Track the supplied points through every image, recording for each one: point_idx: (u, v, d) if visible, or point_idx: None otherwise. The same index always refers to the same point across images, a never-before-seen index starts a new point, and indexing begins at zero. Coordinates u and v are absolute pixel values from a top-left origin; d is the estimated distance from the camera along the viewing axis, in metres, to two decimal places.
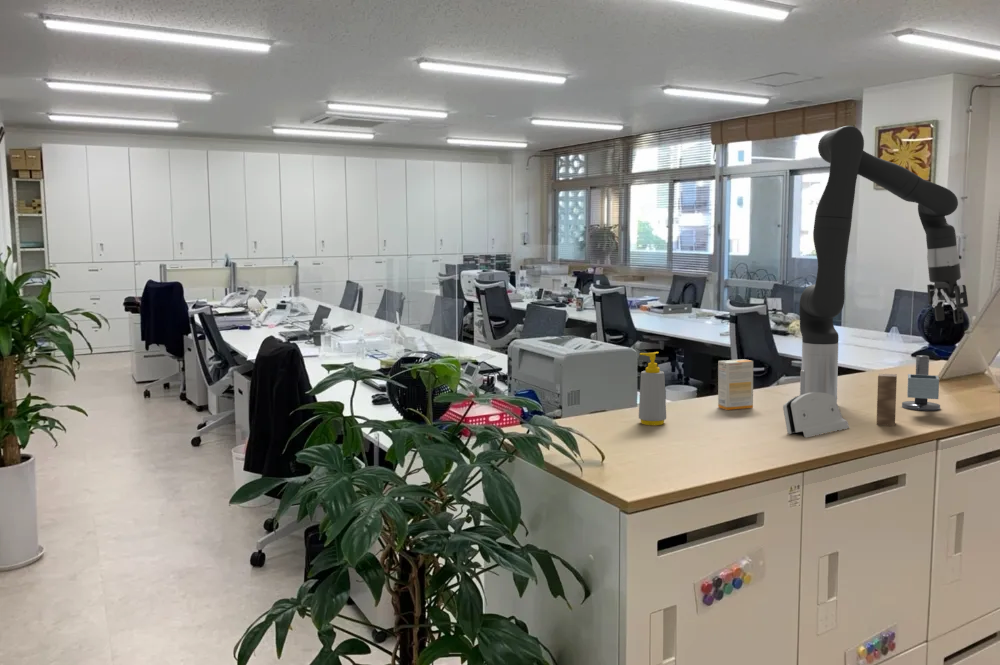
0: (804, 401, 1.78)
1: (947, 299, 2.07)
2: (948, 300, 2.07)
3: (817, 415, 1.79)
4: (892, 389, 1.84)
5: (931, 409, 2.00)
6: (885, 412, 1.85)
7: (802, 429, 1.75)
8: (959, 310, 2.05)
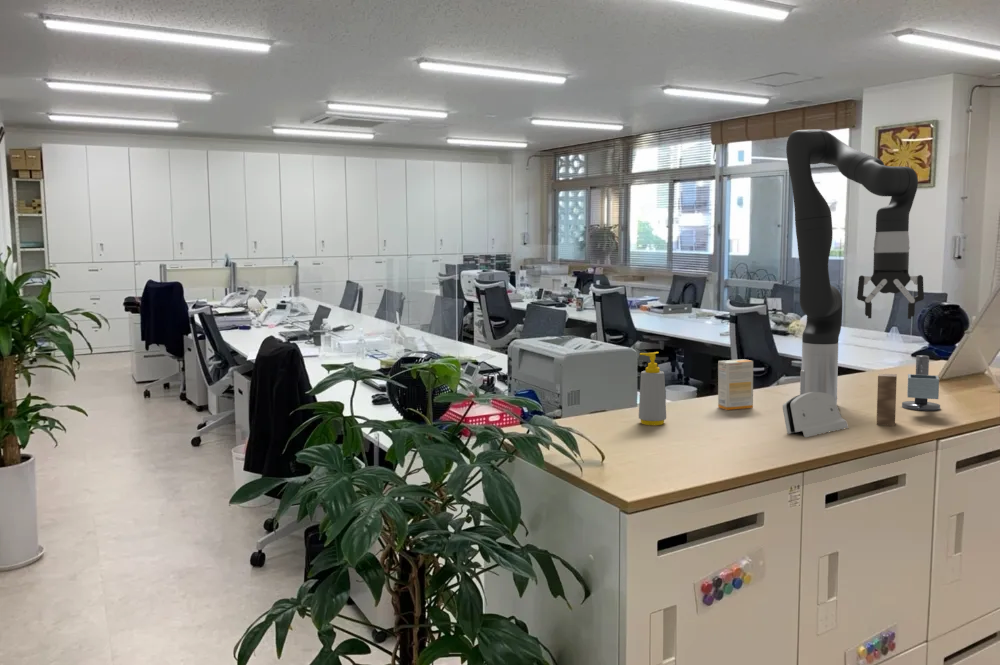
0: (803, 401, 1.79)
1: None
2: None
3: (816, 415, 1.80)
4: (891, 389, 1.84)
5: (931, 409, 2.00)
6: (885, 412, 1.85)
7: (802, 429, 1.75)
8: (865, 303, 1.86)
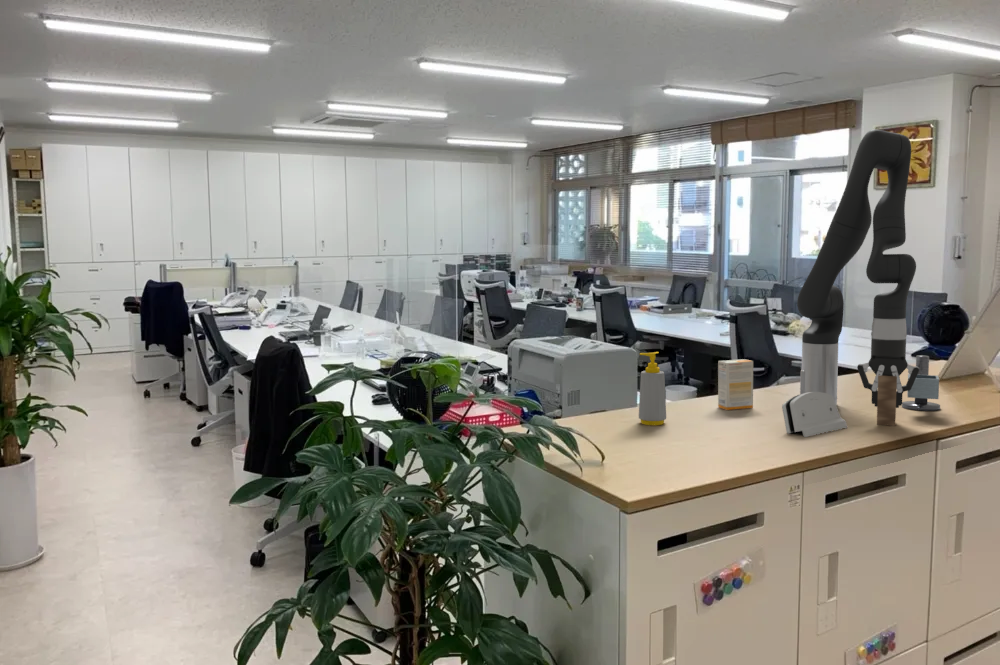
0: (803, 400, 1.79)
1: None
2: None
3: (816, 415, 1.80)
4: (892, 389, 1.84)
5: (931, 409, 2.00)
6: (886, 412, 1.85)
7: (801, 429, 1.75)
8: None
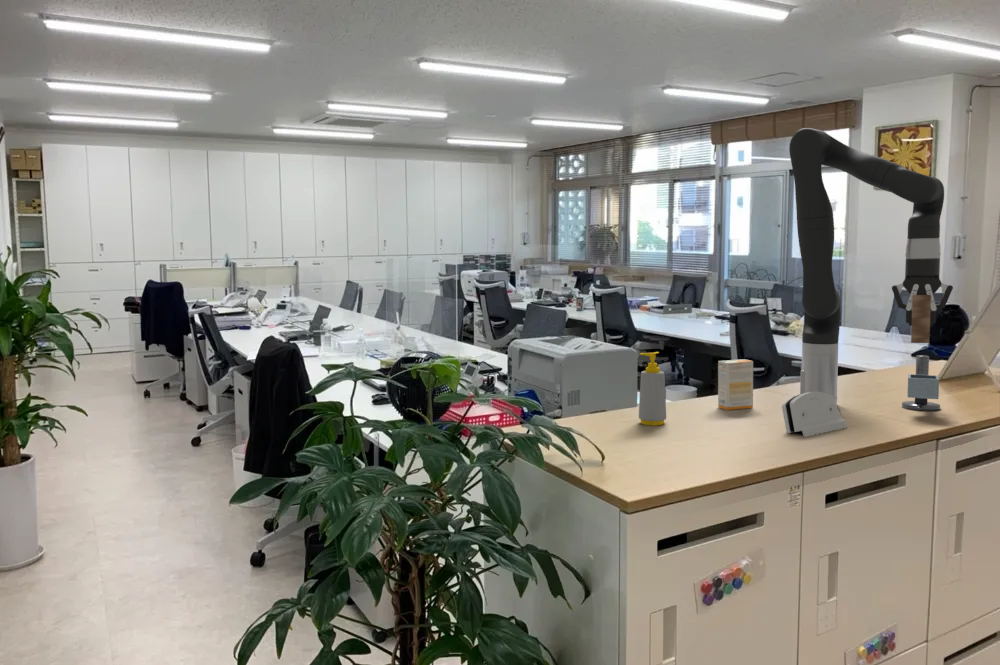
0: (803, 400, 1.79)
1: None
2: None
3: (816, 414, 1.80)
4: (926, 307, 1.89)
5: (931, 409, 2.00)
6: (920, 330, 1.90)
7: (801, 428, 1.75)
8: (906, 311, 1.93)
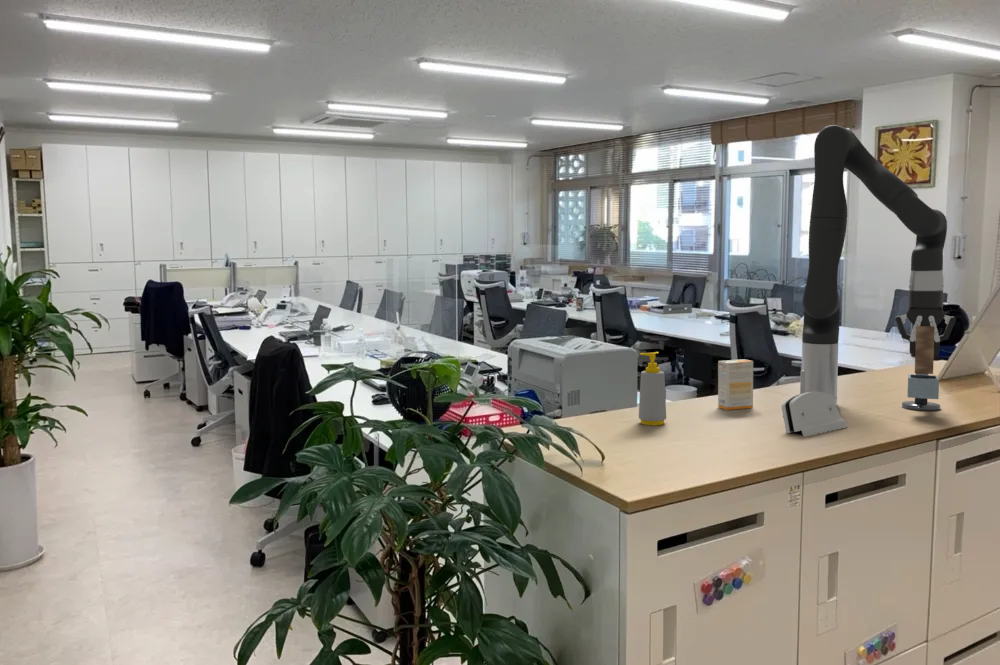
0: (802, 400, 1.79)
1: None
2: None
3: (815, 414, 1.80)
4: (930, 338, 1.91)
5: (931, 409, 2.00)
6: (924, 361, 1.92)
7: (801, 428, 1.75)
8: None
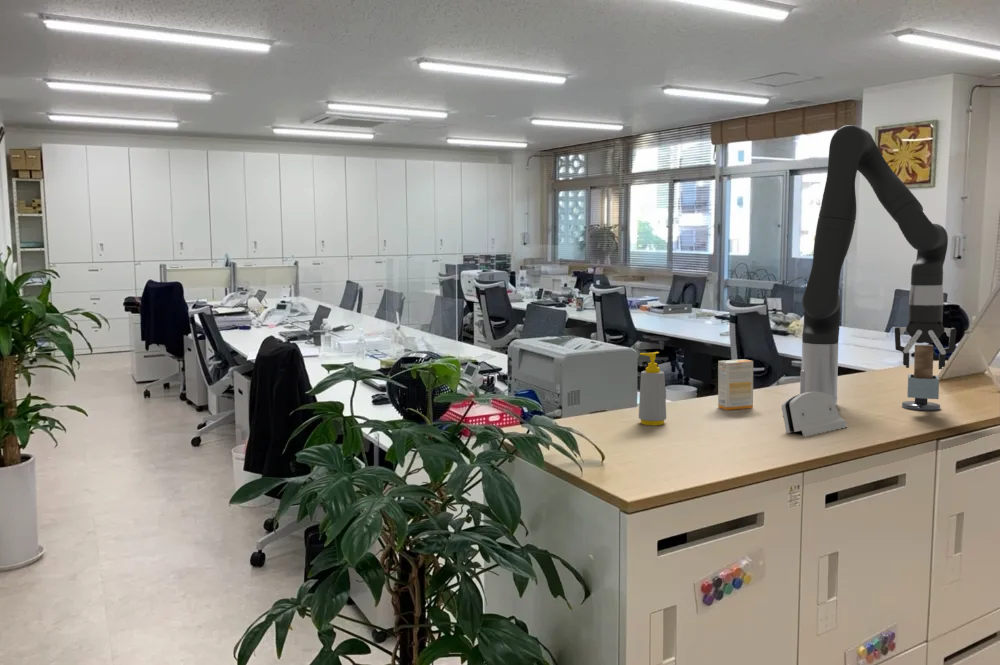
0: (802, 400, 1.79)
1: None
2: None
3: (815, 414, 1.80)
4: (929, 358, 1.92)
5: (931, 409, 2.00)
6: None
7: (801, 428, 1.75)
8: (903, 353, 1.96)
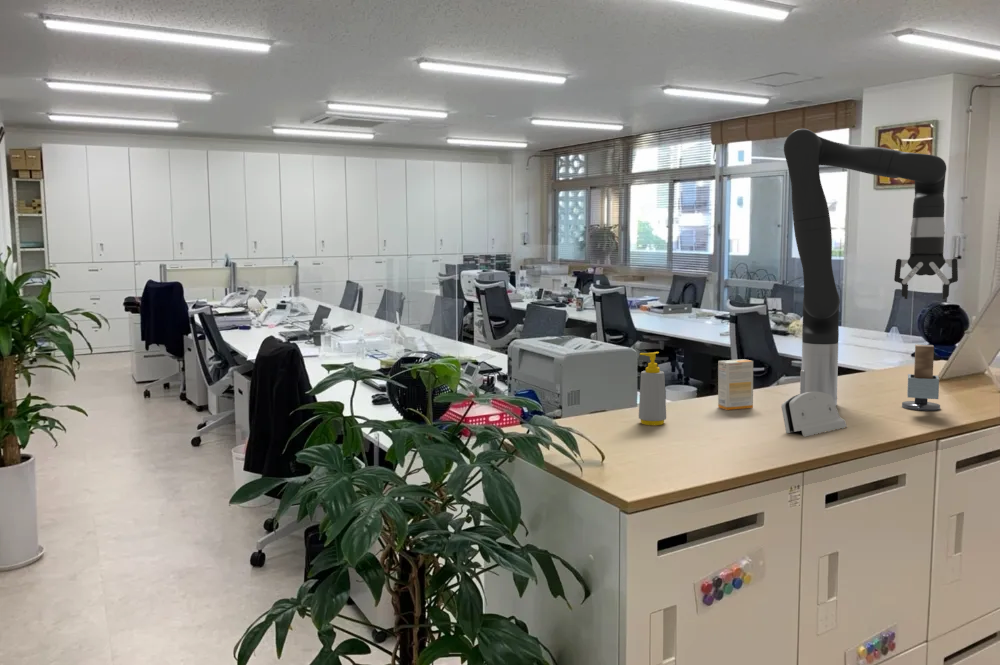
0: (802, 400, 1.79)
1: None
2: None
3: (815, 414, 1.80)
4: (929, 358, 1.92)
5: (931, 409, 2.00)
6: None
7: (801, 428, 1.75)
8: (902, 285, 1.99)
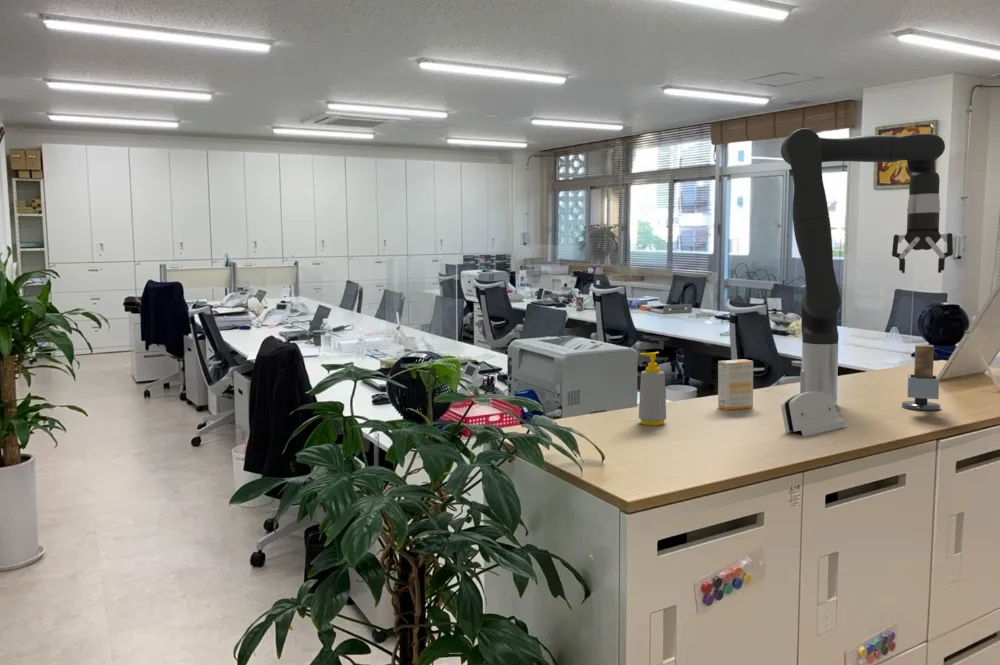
0: (802, 400, 1.79)
1: None
2: None
3: (815, 414, 1.80)
4: (929, 358, 1.92)
5: (931, 409, 2.00)
6: None
7: (800, 428, 1.76)
8: (899, 259, 2.07)
